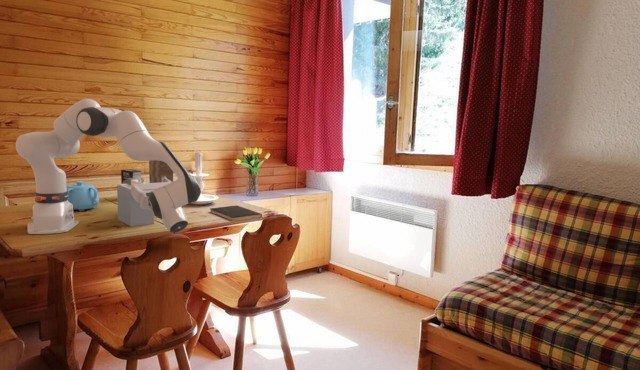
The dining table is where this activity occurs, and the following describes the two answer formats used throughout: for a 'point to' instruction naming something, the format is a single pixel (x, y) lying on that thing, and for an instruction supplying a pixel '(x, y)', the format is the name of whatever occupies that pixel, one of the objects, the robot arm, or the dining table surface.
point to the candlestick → (198, 176)
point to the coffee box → (129, 175)
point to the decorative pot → (82, 196)
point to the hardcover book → (235, 213)
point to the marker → (132, 181)
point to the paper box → (131, 208)
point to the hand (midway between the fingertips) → (151, 178)
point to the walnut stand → (159, 171)
